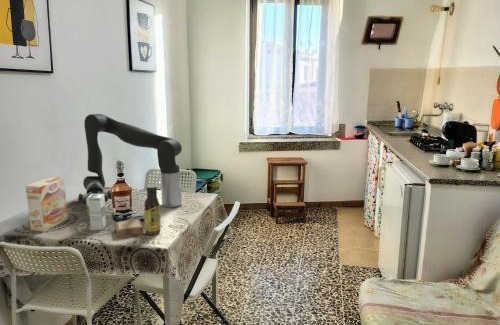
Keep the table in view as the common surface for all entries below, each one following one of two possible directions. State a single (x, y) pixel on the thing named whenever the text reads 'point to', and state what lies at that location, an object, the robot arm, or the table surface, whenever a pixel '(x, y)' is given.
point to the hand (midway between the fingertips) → (95, 201)
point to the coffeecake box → (46, 203)
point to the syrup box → (96, 211)
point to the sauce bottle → (152, 211)
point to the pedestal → (129, 228)
